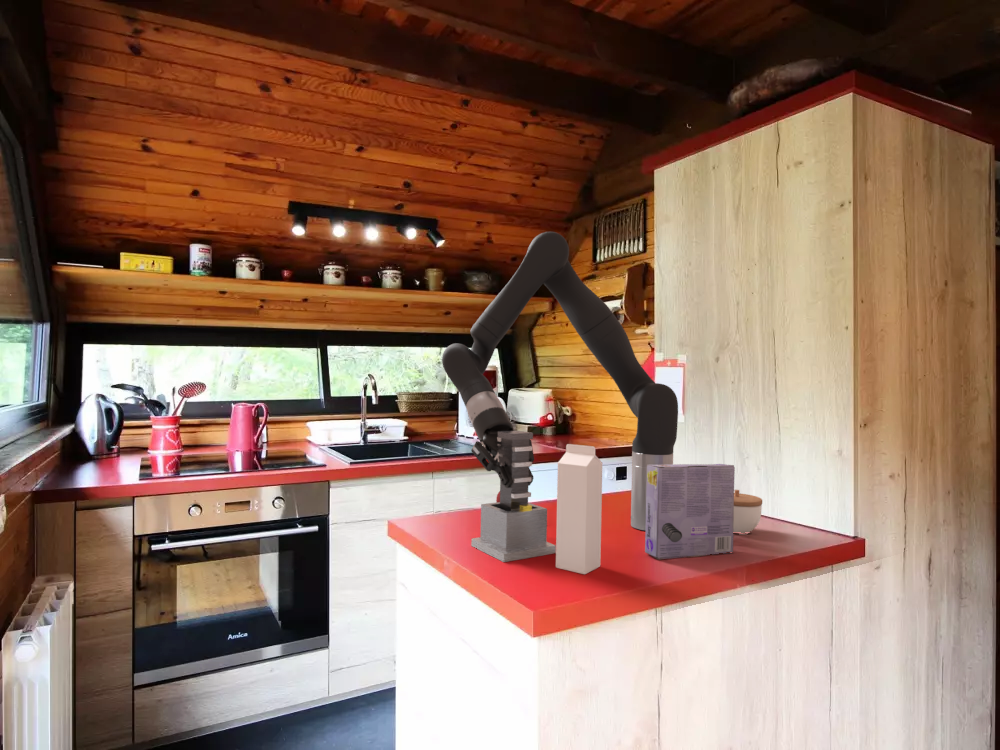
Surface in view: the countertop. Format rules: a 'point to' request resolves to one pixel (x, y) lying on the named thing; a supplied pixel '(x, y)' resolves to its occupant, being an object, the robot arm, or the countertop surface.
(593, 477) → the milk
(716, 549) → the cake pan box
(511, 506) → the column
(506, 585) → the countertop surface
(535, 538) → the stand
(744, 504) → the lidded jar
